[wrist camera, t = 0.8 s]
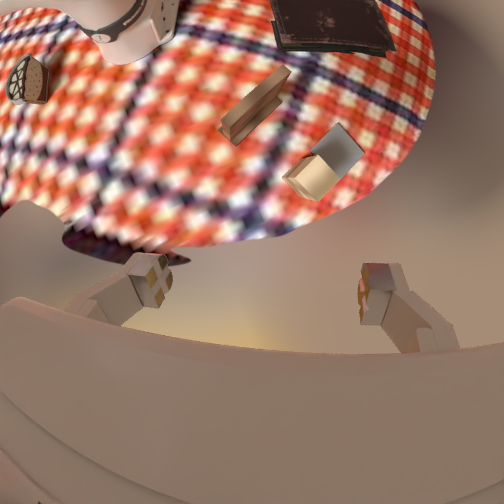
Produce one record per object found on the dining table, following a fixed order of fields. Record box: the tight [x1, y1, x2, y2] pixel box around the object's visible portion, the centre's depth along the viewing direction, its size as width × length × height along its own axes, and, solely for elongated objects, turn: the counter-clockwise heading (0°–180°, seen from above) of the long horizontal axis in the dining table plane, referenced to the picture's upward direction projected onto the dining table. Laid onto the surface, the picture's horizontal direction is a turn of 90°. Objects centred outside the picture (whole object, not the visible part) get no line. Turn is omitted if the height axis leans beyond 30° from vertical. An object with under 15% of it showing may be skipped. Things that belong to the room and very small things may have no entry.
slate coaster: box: [310, 123, 365, 179], centre depth 48 cm, size 8×8×1 cm
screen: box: [218, 65, 291, 146], centre depth 39 cm, size 12×4×14 cm, turn 136°
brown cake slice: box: [6, 53, 50, 105], centre depth 33 cm, size 12×6×10 cm, turn 6°
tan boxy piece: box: [282, 155, 340, 202], centre depth 44 cm, size 5×5×11 cm
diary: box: [270, 0, 396, 58], centre depth 38 cm, size 19×25×5 cm
